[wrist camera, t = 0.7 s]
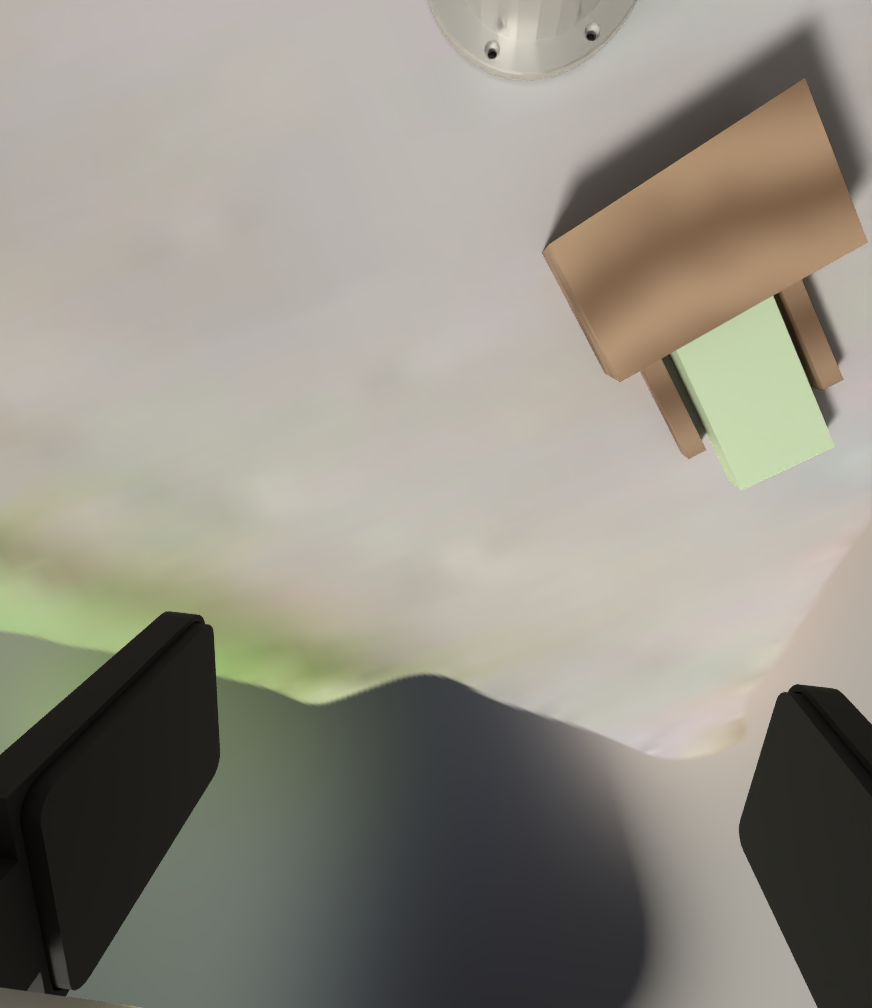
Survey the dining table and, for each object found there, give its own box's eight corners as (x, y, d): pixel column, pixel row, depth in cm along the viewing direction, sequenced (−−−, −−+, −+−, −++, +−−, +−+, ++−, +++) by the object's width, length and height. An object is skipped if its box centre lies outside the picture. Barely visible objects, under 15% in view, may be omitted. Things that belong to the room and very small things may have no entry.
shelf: (862, 360, 36) (915, 367, 32) (654, 467, 40) (675, 488, 35) (761, 111, 33) (805, 77, 28) (542, 252, 36) (549, 244, 31)
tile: (814, 438, 39) (834, 446, 36) (726, 479, 40) (741, 490, 38) (751, 288, 36) (769, 287, 34) (661, 339, 37) (672, 341, 35)
